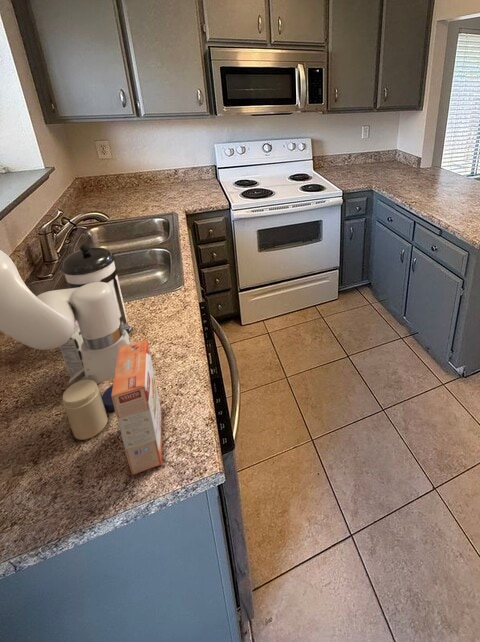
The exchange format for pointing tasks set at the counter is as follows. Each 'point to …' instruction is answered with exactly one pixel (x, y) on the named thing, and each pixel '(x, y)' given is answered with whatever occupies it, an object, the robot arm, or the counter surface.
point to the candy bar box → (73, 352)
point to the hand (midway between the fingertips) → (118, 393)
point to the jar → (85, 409)
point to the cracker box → (138, 406)
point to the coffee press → (94, 273)
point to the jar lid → (108, 399)
